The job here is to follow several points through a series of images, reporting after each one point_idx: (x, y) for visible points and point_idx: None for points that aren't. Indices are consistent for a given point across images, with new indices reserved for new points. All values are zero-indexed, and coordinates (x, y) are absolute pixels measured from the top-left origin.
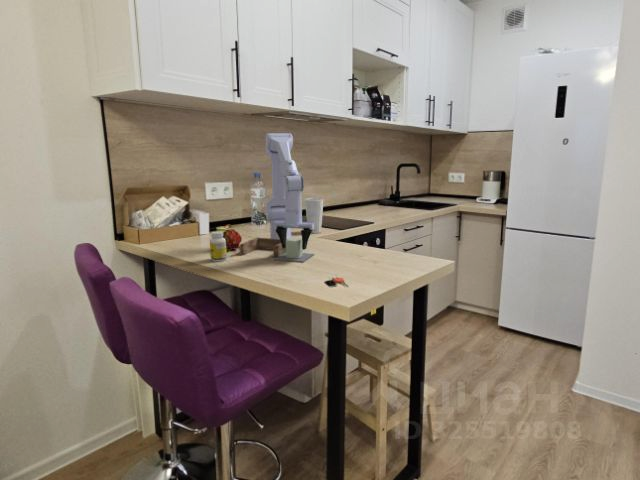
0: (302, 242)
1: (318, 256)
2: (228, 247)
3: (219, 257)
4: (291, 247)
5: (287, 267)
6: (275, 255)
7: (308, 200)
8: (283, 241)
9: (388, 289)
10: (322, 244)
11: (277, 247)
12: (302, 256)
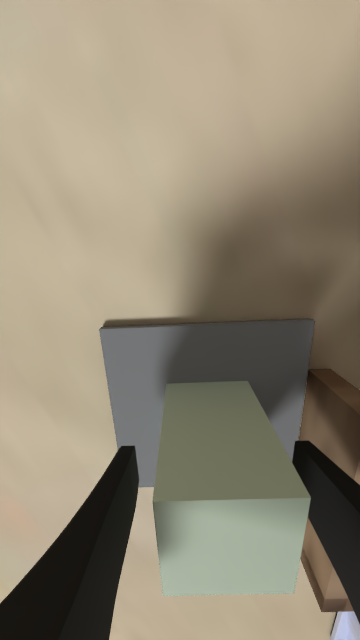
0: (108, 504)
1: (90, 464)
2: None
3: None
4: (221, 435)
5: (141, 170)
6: (326, 377)
7: None
8: (338, 501)
9: None
10: (177, 624)
11: (355, 432)
12: (160, 425)
